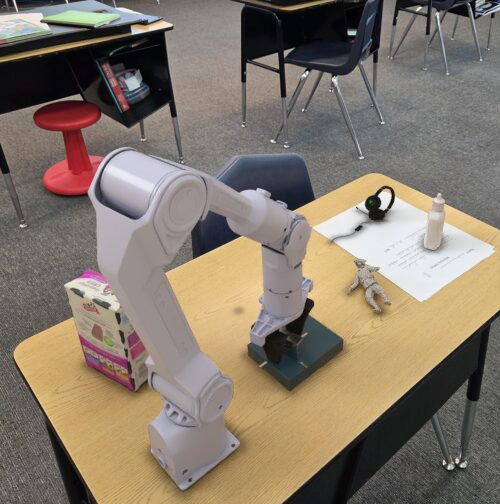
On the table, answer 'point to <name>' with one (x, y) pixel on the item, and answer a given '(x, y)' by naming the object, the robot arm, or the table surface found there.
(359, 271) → the soldier figure
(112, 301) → the candy bar box
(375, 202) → the headset
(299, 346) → the tap handle
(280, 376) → the tap console
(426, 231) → the eye dropper bottle
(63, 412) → the table surface
